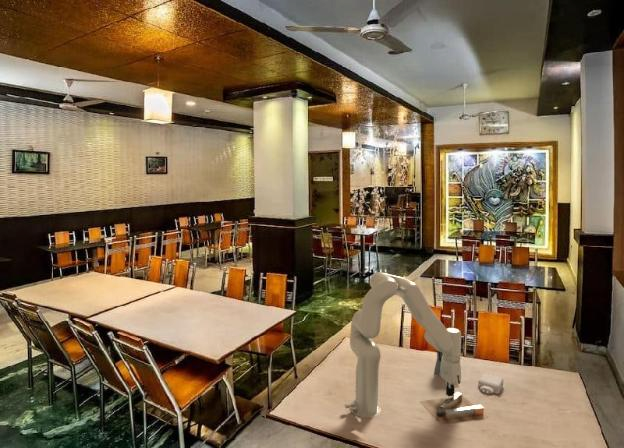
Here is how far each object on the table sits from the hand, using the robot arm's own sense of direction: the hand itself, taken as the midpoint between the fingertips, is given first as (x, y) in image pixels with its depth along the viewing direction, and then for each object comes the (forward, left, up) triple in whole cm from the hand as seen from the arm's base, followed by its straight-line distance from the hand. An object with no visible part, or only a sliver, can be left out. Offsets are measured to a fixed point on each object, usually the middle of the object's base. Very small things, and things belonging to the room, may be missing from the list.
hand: (450, 395), depth 187 cm
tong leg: (-5, -7, -1) cm, 9 cm away
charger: (+23, +4, -3) cm, 24 cm away
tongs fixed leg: (-2, -14, -1) cm, 15 cm away
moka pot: (+11, +23, -3) cm, 26 cm away
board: (-4, -9, -3) cm, 10 cm away
